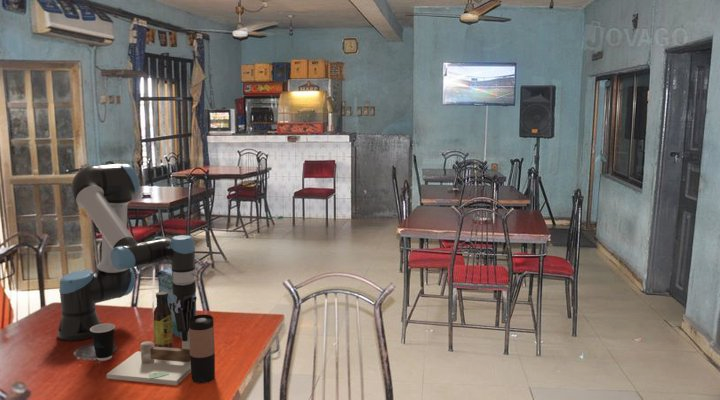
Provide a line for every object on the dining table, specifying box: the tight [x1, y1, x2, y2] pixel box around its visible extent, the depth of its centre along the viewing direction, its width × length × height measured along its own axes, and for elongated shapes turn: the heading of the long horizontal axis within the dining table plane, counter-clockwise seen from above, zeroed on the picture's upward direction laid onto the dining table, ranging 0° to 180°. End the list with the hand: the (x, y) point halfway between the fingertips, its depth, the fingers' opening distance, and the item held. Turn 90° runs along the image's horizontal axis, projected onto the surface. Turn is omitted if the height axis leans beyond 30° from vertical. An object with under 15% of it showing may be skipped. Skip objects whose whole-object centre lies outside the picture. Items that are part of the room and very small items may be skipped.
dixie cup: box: [90, 322, 116, 362], centre depth 202 cm, size 8×8×11 cm
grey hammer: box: [140, 340, 190, 363], centre depth 195 cm, size 17×4×6 cm, turn 80°
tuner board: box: [106, 350, 191, 386], centre depth 194 cm, size 24×18×2 cm
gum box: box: [157, 268, 197, 339], centre depth 224 cm, size 20×5×23 cm, turn 47°
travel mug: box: [189, 314, 216, 384], centre depth 187 cm, size 8×8×20 cm
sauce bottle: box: [153, 291, 174, 348], centre depth 212 cm, size 7×6×20 cm
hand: (186, 348), depth 202 cm, fingers closed
